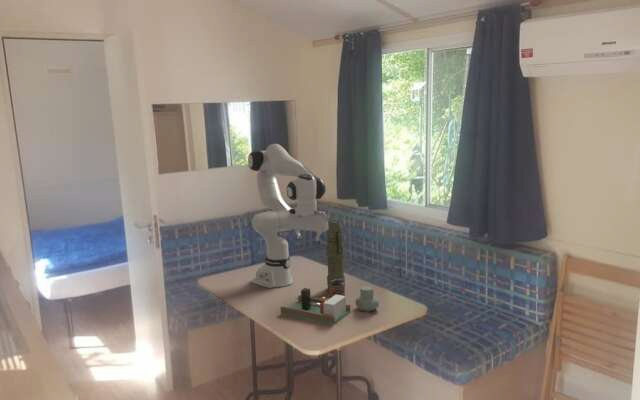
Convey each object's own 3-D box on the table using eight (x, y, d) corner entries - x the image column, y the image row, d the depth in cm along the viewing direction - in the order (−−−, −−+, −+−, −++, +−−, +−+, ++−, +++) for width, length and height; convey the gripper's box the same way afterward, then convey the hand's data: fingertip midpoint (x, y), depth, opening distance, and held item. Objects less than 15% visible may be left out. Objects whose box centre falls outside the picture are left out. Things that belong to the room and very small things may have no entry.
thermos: (337, 284, 268) (335, 218, 261) (349, 290, 258) (348, 222, 251) (322, 287, 263) (320, 221, 257) (335, 294, 253) (333, 225, 247)
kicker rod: (300, 309, 232) (299, 290, 230) (306, 305, 236) (305, 287, 234) (323, 314, 226) (322, 294, 224) (328, 310, 230) (328, 291, 229)
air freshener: (353, 306, 237) (353, 285, 235) (369, 303, 240) (369, 283, 238) (364, 315, 227) (363, 293, 225) (380, 311, 230) (380, 290, 228)
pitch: (280, 314, 231) (280, 297, 229) (299, 302, 244) (299, 286, 243) (333, 325, 217) (333, 307, 216) (350, 311, 231) (350, 294, 230)
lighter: (330, 301, 244) (329, 281, 242) (328, 299, 247) (327, 279, 245) (346, 299, 246) (345, 279, 244) (344, 296, 249) (343, 277, 248)
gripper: (330, 210, 232) (331, 240, 235) (292, 207, 242) (293, 235, 245) (323, 213, 227) (324, 243, 229) (285, 209, 237) (286, 238, 239)
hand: (308, 239), depth 237 cm, fingers open, 8 cm apart
